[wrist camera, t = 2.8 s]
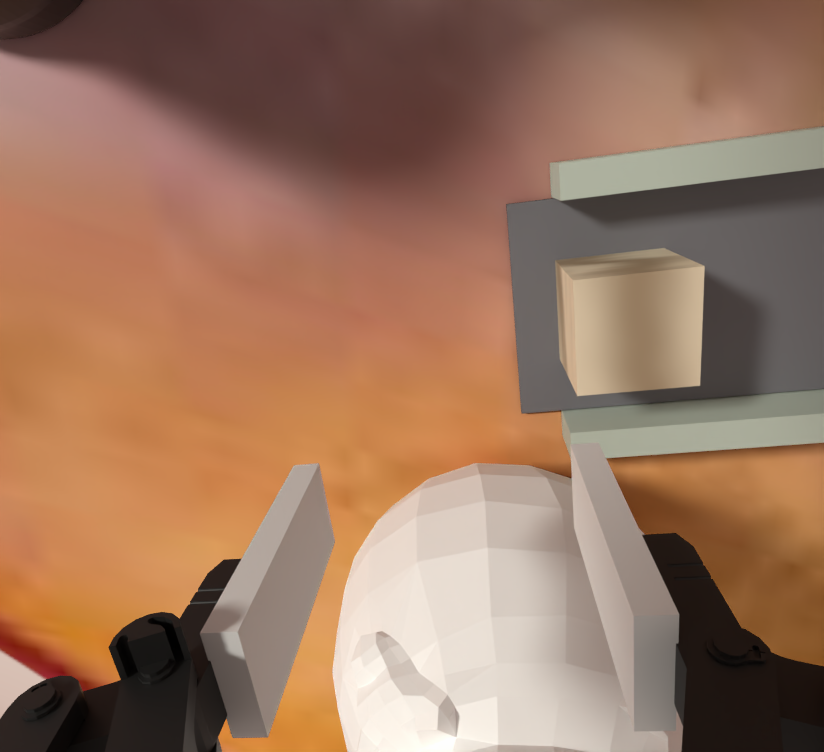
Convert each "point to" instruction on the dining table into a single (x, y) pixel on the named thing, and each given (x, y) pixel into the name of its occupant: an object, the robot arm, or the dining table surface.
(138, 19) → the dining table surface
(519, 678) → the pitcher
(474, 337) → the dining table surface
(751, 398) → the channel
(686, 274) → the block
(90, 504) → the dining table surface
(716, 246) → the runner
